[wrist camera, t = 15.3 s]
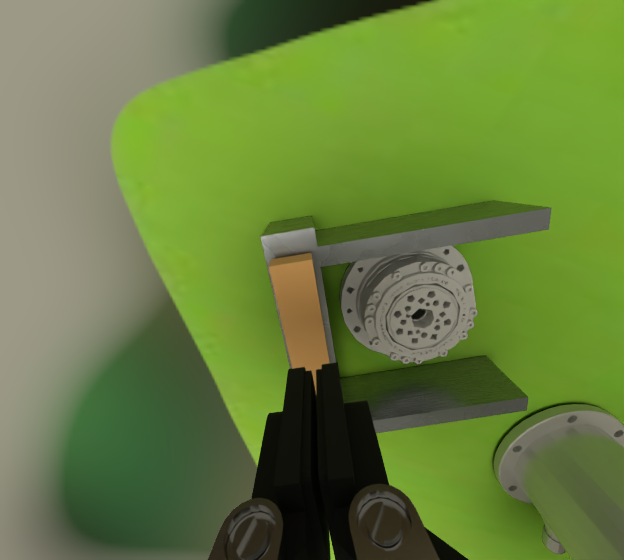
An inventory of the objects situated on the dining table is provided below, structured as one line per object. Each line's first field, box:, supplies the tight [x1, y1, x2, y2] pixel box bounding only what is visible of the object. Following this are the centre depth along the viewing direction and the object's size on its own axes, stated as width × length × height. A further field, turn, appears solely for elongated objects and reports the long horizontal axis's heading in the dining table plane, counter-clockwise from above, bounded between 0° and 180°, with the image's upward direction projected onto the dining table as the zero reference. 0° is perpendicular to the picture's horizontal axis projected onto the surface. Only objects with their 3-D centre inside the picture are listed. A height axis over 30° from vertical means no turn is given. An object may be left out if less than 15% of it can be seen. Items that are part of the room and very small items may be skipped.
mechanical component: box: [339, 245, 478, 364], centre depth 21 cm, size 10×4×10 cm
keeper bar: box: [269, 253, 330, 391], centre depth 18 cm, size 14×3×1 cm, turn 9°
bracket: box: [261, 201, 551, 433], centre depth 20 cm, size 17×16×7 cm
